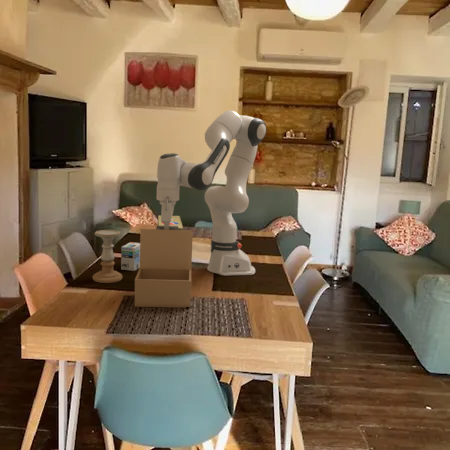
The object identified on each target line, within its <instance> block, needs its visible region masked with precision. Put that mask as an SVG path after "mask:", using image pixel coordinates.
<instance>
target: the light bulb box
mask: <svg viewBox="0 0 450 450" xmlns="http://www.w3.org/2000/svg"><path fill="white" fill-rule="evenodd" d="M120 249H121V251H120V252H121V253H120V254H121V255H120V257H121V258H120V259H121V260H120V265H121V266H120V269H121V270H123V271H124V270H125V271H131V272H135V271H137V270H139V268H140V242H133V241H132V242H131V241H130V242H128V243H126V244H125V245H122V246H121V247H120Z"/></svg>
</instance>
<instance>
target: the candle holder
mask: <svg viewBox="0 0 450 450" xmlns="http://www.w3.org/2000/svg"><path fill="white" fill-rule="evenodd" d="M121 234H122V233H121V231H119V230H116V229H115V230H113V229H103V230H102V229H100V230H96V231H95V232H94V236H96V237H99V238H101V240H102V242H103V243H102V245H101V248H102V252H101V256H100V258H101V262H100V265H101V270H99V271H98V272H96V273H94V274H93V275H92V280H93V281H94V282H96V283H101V284H111V283H118V282H120V281H122V279H123V274H122V273H120V272H118V271H117V270H114V266H115V264H116V263H115V261H114V260H115V254H114V250H113V248H114V247H115V245H114V244H113V240H114V239H115V238H116V237H119V236H121Z"/></svg>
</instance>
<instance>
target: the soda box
mask: <svg viewBox="0 0 450 450" xmlns="http://www.w3.org/2000/svg"><path fill="white" fill-rule="evenodd" d="M157 226H164V223H162V222H161V215H160V214H159V215H158V216H157ZM170 226H178V230H184V227H183V223H182V220H181V216H180V215H172V219H171V222H170Z"/></svg>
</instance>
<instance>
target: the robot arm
mask: <svg viewBox="0 0 450 450" xmlns="http://www.w3.org/2000/svg"><path fill="white" fill-rule="evenodd" d="M266 135H267V125H266V122H265V121H264V120H262V119H261V118H257V117H253V116H249V115H242V114H241V115H239V113H237V112H236V111H235V110H226V111H224V112H223V113H221V114H220V115H219V116H217V117H216V118H215V120H214V121H212V123H211V124H210V125H209V126H208V127H207V129H206V131H205V132H204V141H205V144H206V145H207V146H208V148H209V149H210V150H211V151H210V153H209V154H208V155H207V158H206V159H205V161H203V162H200V163H194V162H188V161H187V160H184V159H183V158H181V156H180V155H179V154H178V153H174V152H173V153H165V154H162V155H160V157H159V159H158V161H157V162H158V163H157V169H156V172H157V173H156V178H157V185H156V201H159V205H161V210H160V211H161V222H162V223H164V230H169V226H170V222H171V219H172V216H174V211H175V205H176V204H177V202H178V201H180V189H181V188H180V187H186V188H192V189H194V190H199V191H205V193H204V201H205V203H206V205H207V207H208V209H209V212H210V216H211V217H210V218H211V221H212V222H211V224H212V233H211V234H212V235H211V236H212V237H211V241H210V257H209V262H208V265H207V268H206V269H207V271H209V272H210V273H214V274H217V275H220V276H252V275H255V273H256V268H255V267H254V266H253V265H252V263H251V259H250V257H249V256H248V255H247V253H245V252H244V251H243V250H241V248H242V246H243V245H242V244H241V242H239V241H238V240H237V229H238V227H237V222H236V221H235V219H234V217H233V215H232V214H241V213H244V212H245V211H246V210H248V209H247V208H248V207H249V205H250V199H249V196H248V194H247V182H248V179H249V176H250V173H251V170H252V168H253V166H254V162H255V159H256V156H257V153H258V148H259V147H258V145H260V143H261V142H262V141H263V139H264V138H265V136H266ZM233 140H236V144H235V146H234V147H233V150H232V151H231V154H230V157H229V159H228V162H227V164H226V166H225V169H224V175H225V176H226V182H225V186H222V185H214V186H211V185H212V183H213V181H214V178H215V175H216V174H217V172H218V170H219V168H220V167H221V166H222V164H223V161H224V160H225V158H226V157H227V155H228V154H229V151H230V147H231V145H230V144H231V142H232V141H233Z"/></svg>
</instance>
